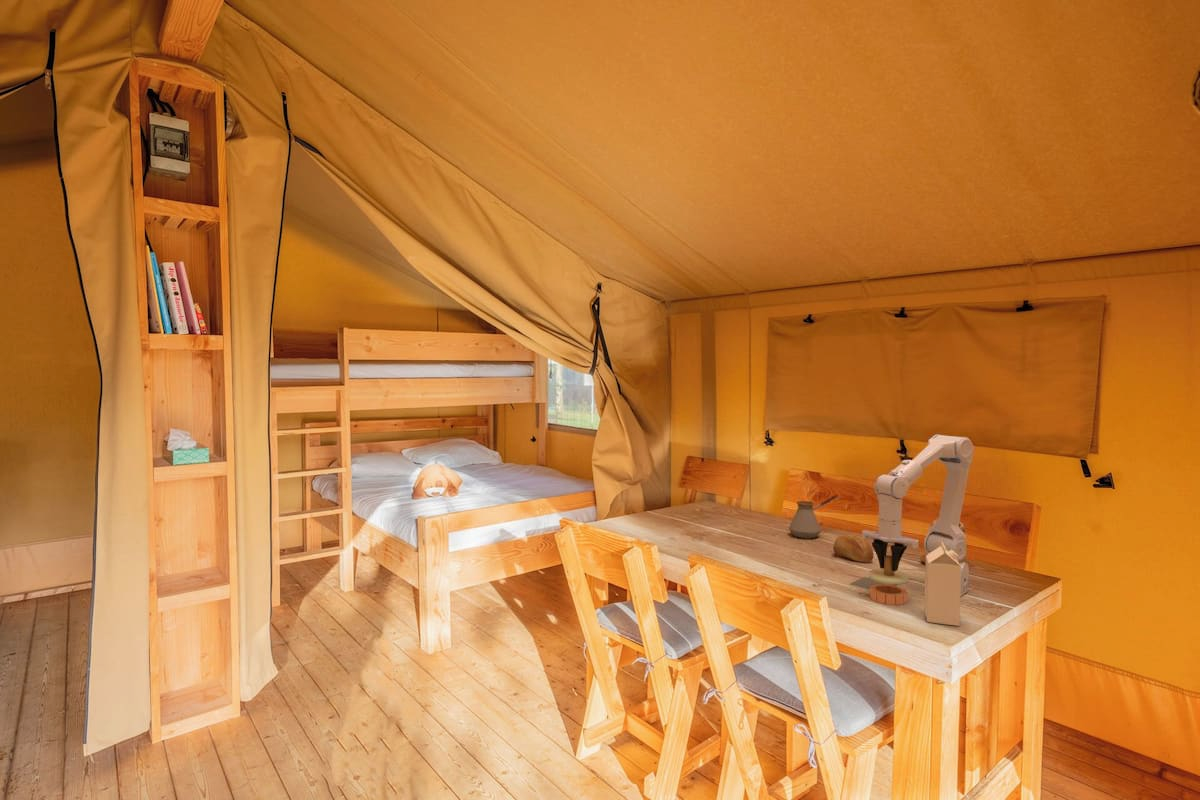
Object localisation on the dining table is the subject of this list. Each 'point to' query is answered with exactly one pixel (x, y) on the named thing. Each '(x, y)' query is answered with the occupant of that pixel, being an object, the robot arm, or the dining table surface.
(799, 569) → the dining table surface
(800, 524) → the coffee pot
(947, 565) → the milk carton
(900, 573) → the lid
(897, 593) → the bowl
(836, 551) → the bread roll
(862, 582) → the mat
